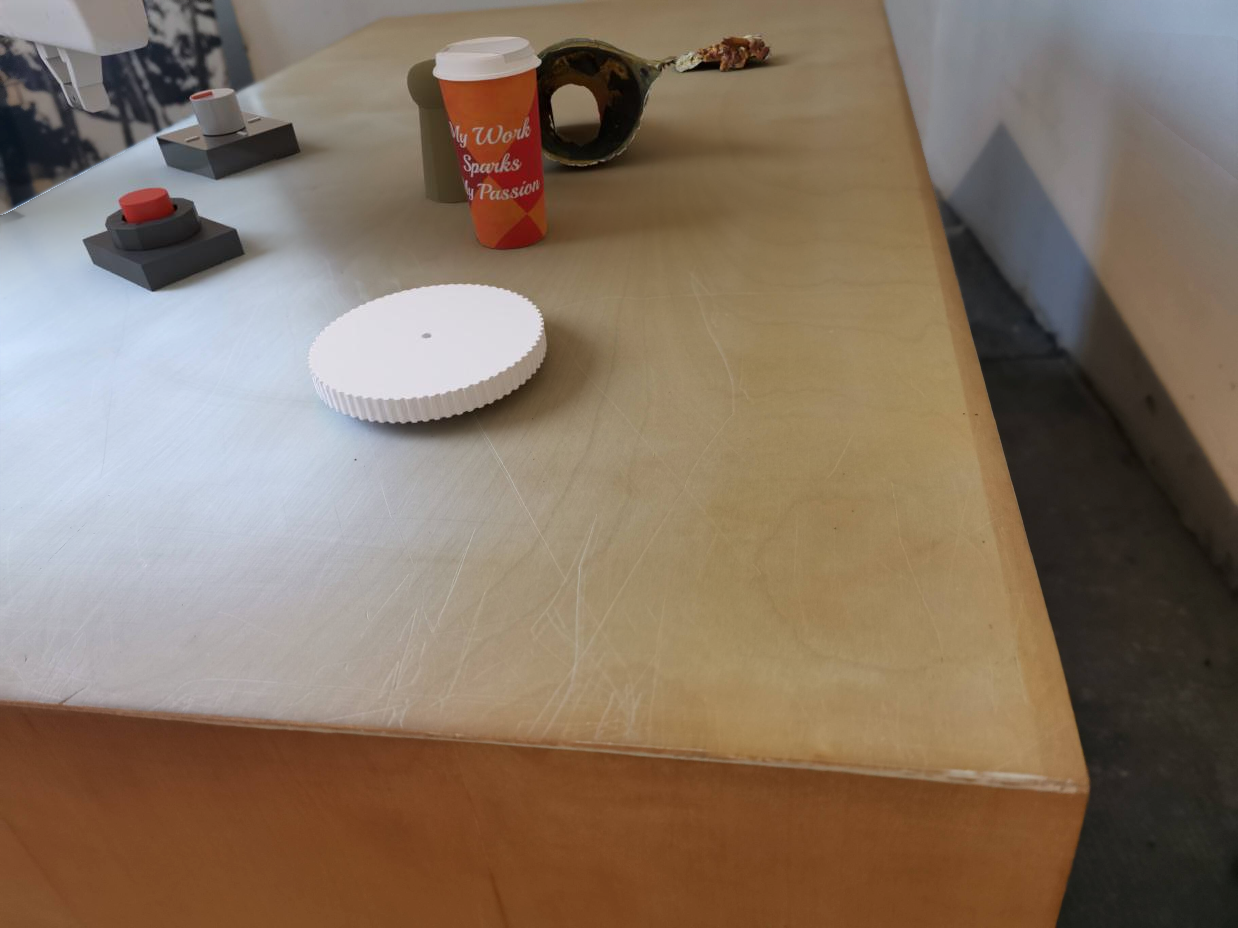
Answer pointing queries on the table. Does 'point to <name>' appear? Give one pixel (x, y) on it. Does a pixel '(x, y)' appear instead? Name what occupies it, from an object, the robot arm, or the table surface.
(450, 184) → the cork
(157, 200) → the button
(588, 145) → the olive metal hollow piece
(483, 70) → the paper cup
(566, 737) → the table surface
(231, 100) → the burner knob
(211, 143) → the panel
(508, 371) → the plastic lid
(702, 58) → the pastry
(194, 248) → the box
